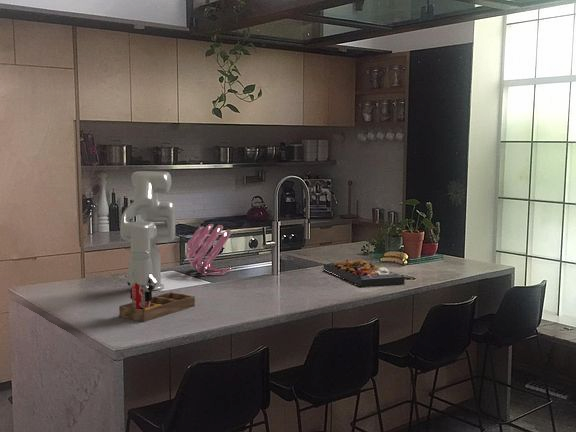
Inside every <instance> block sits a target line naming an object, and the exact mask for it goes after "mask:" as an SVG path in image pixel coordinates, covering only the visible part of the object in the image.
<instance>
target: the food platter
mask: <svg viewBox="0 0 576 432" xmlns="http://www.w3.org/2000/svg"><path fill="white" fill-rule="evenodd" d="M324 269H325V270H327V271H329V272H332V273H334V274H336V275H338V276H340V277H342V278H344V279H346V280H348V281H350V282H352V283H351V284H353V283H354V284H353V285H355V284H356V285H355V286H357V285H359V286H361V287H360V288H367V287H366V286H372V287H383V286H385V285H386V286H396V285H397V286H398V285H405V278H406V277H405V275H401V274H399V273H395V272H392V270H389V269H388V268H387V267H385V266H384V267H380V266H377V265H374V264H373V263H372V262H369V263H367V261H366V260H362V259H361V258H359V259H357V260H355V261H354V260H352V259H346V260H345V261H344V260H342V261H341V262H338V261H335V262H329V263H323V270H324ZM344 279H343V280H344ZM346 280H345V281H346ZM348 281H347V282H348ZM350 282H349V283H350ZM359 286H358V287H359ZM386 286H385V287H386Z"/></svg>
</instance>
